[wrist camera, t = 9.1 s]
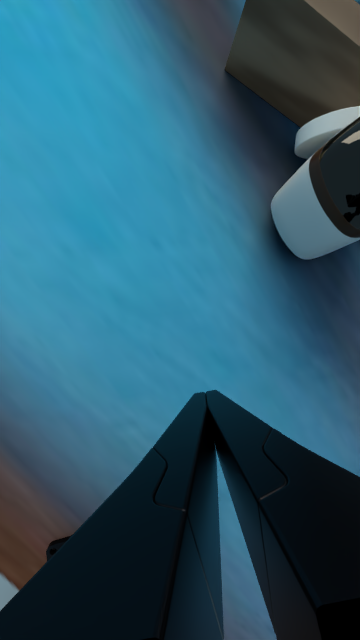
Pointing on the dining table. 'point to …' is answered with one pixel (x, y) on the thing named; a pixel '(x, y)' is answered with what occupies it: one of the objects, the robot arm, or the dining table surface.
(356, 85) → the walnut board
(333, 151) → the spread jar
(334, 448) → the dining table surface
